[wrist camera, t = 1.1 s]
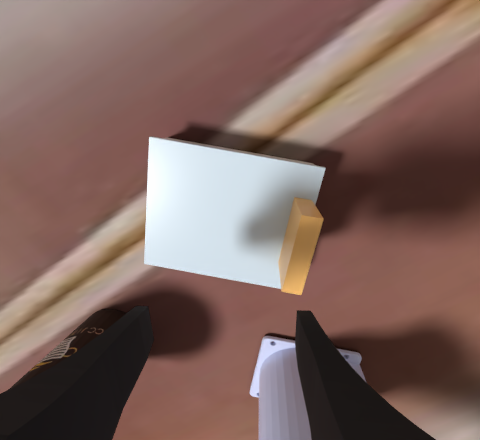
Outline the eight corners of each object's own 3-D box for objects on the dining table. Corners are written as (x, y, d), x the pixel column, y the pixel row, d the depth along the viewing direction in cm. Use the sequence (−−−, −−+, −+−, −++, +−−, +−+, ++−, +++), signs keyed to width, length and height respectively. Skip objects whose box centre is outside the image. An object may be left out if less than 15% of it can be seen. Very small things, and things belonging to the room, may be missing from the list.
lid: (321, 164, 18) (341, 180, 14) (289, 281, 22) (297, 324, 17) (156, 135, 18) (122, 141, 14) (150, 255, 22) (121, 292, 17)
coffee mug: (151, 300, 26) (88, 405, 16) (162, 368, 29) (114, 489, 19) (36, 297, 27) (-86, 394, 17) (59, 363, 30) (-35, 476, 20)
